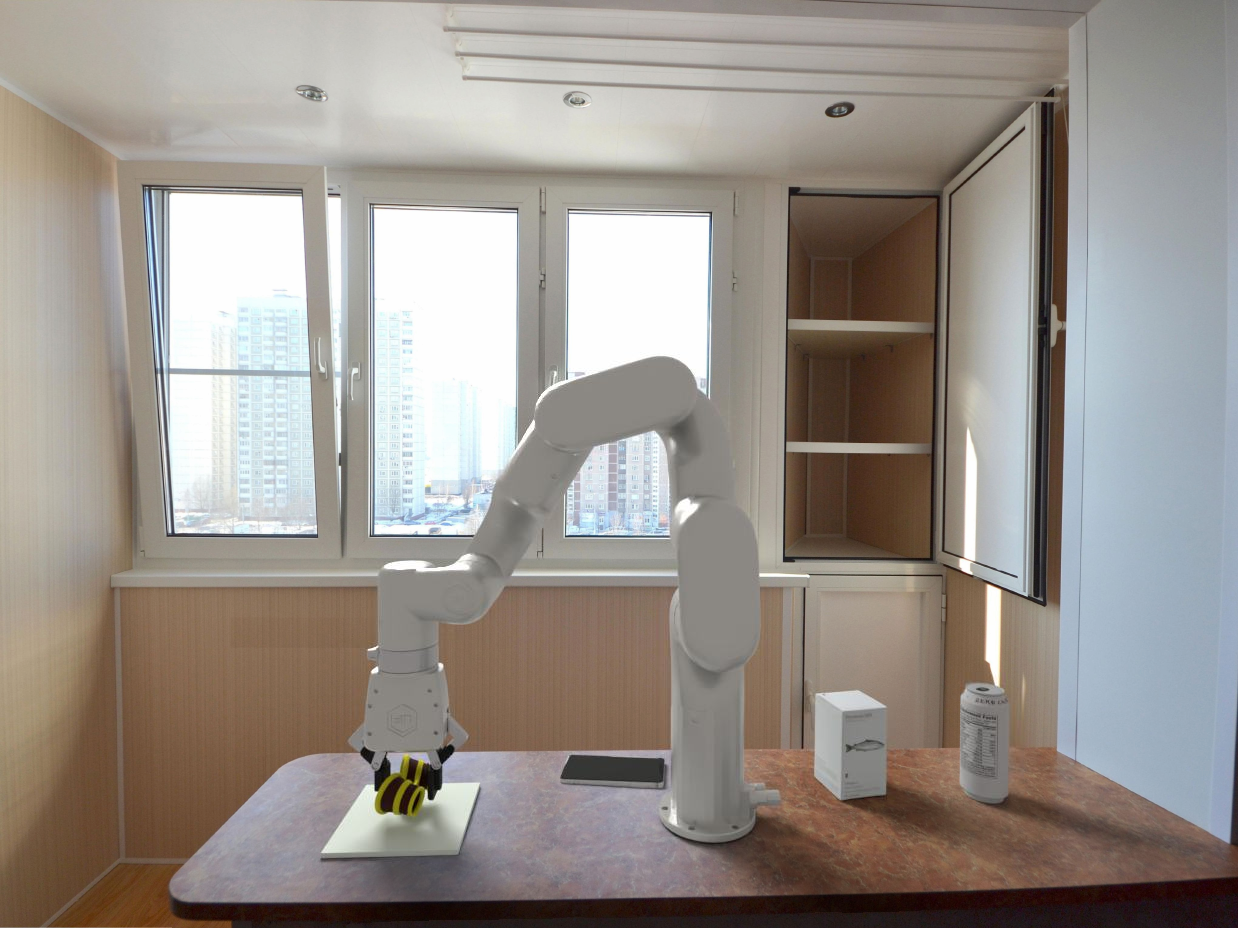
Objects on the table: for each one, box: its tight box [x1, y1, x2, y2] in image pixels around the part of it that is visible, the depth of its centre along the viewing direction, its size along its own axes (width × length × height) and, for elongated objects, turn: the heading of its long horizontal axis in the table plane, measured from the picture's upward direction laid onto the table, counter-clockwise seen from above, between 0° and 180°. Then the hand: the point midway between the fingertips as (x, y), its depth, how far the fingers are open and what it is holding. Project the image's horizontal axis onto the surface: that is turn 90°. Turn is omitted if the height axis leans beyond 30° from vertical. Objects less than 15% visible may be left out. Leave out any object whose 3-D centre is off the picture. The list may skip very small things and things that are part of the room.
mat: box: [320, 781, 481, 859], centre depth 86 cm, size 16×16×1 cm
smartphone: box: [559, 754, 666, 789], centre depth 98 cm, size 8×1×15 cm
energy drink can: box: [959, 681, 1011, 804], centre depth 92 cm, size 6×6×15 cm
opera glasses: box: [375, 753, 430, 817], centre depth 86 cm, size 10×5×5 cm, turn 179°
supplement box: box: [813, 689, 888, 802], centre depth 94 cm, size 7×7×13 cm
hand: (408, 794), depth 86 cm, fingers closed on opera glasses, 5 cm apart
